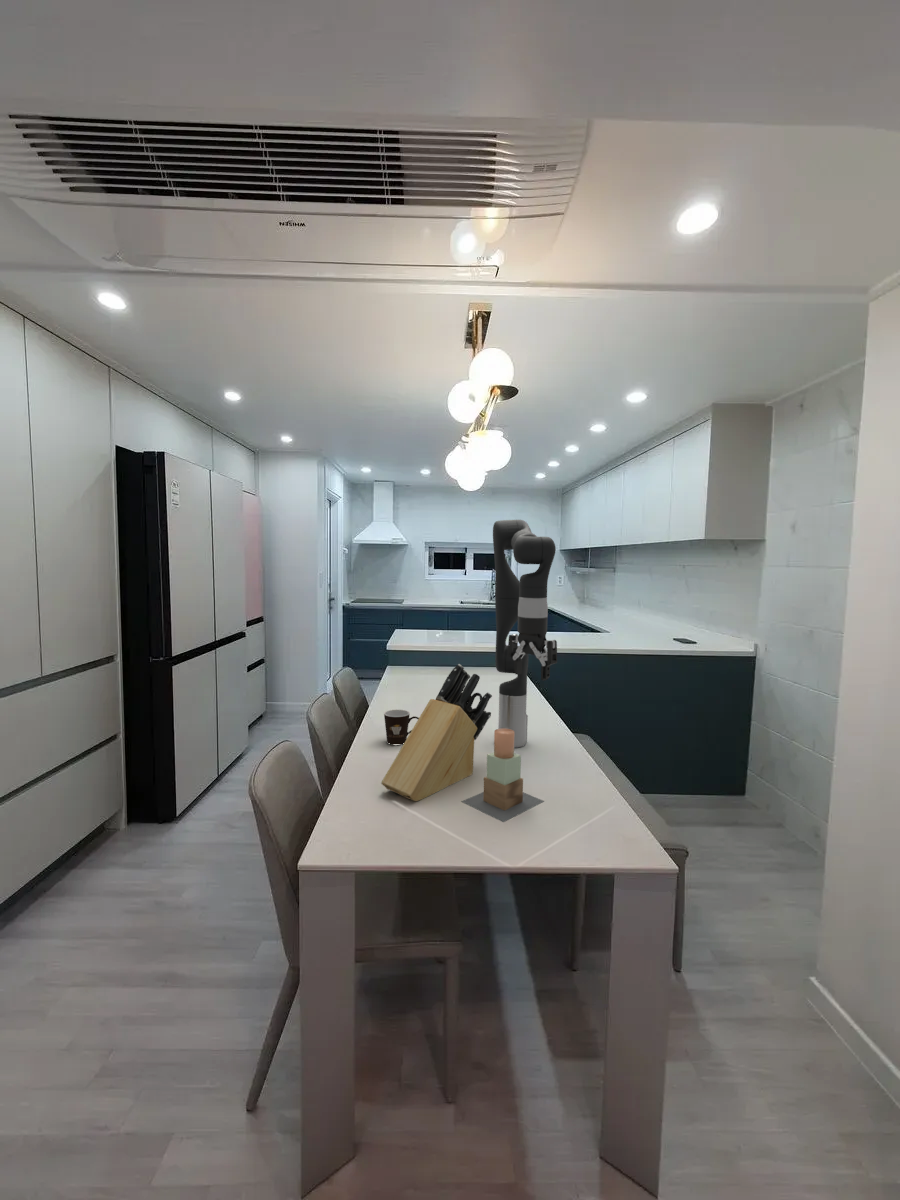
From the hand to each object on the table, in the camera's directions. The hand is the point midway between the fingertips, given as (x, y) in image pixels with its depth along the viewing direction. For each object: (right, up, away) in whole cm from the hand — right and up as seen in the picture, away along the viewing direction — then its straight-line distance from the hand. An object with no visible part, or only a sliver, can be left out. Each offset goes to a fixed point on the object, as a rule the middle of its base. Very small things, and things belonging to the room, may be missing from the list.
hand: (531, 677), depth 134 cm
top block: (-7, -25, -3) cm, 26 cm away
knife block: (-24, -31, +11) cm, 40 cm away
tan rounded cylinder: (-7, -19, -4) cm, 21 cm away
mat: (-8, -32, -3) cm, 33 cm away
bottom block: (-8, -31, -3) cm, 32 cm away
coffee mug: (-38, -28, +40) cm, 62 cm away
